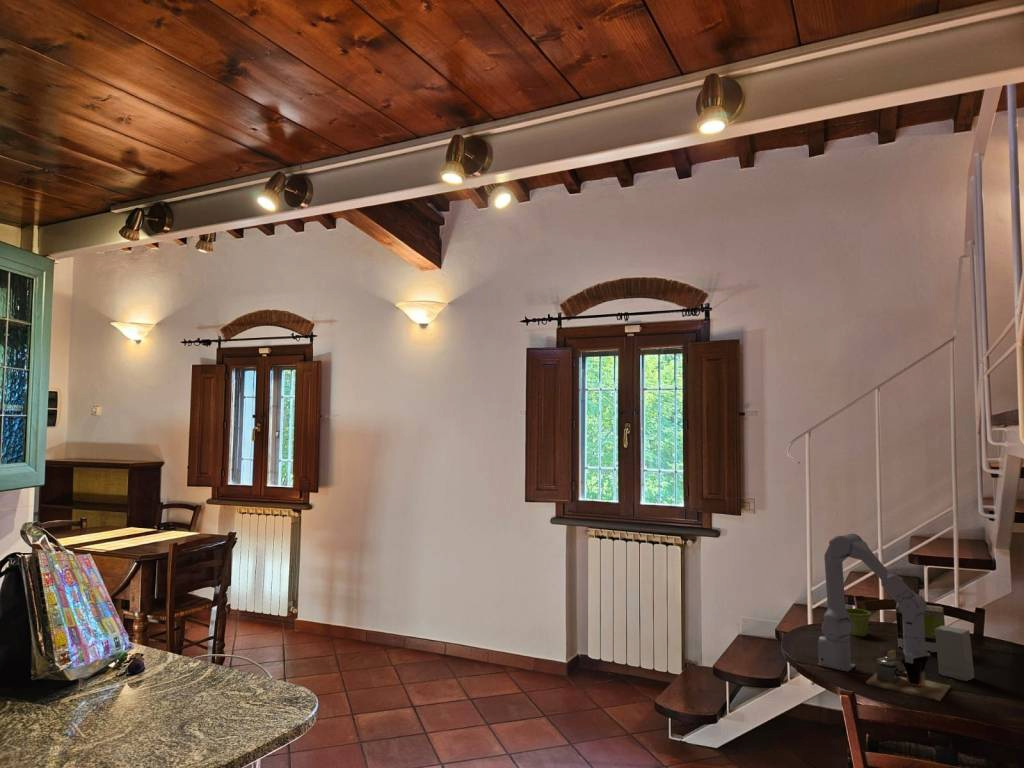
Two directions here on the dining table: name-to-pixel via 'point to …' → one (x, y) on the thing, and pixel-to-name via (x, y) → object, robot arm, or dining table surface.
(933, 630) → the tea box
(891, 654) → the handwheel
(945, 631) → the skincare box
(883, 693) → the dining table surface
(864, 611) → the plant pot
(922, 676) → the brown blocky piece
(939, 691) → the oak board
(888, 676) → the eye block
